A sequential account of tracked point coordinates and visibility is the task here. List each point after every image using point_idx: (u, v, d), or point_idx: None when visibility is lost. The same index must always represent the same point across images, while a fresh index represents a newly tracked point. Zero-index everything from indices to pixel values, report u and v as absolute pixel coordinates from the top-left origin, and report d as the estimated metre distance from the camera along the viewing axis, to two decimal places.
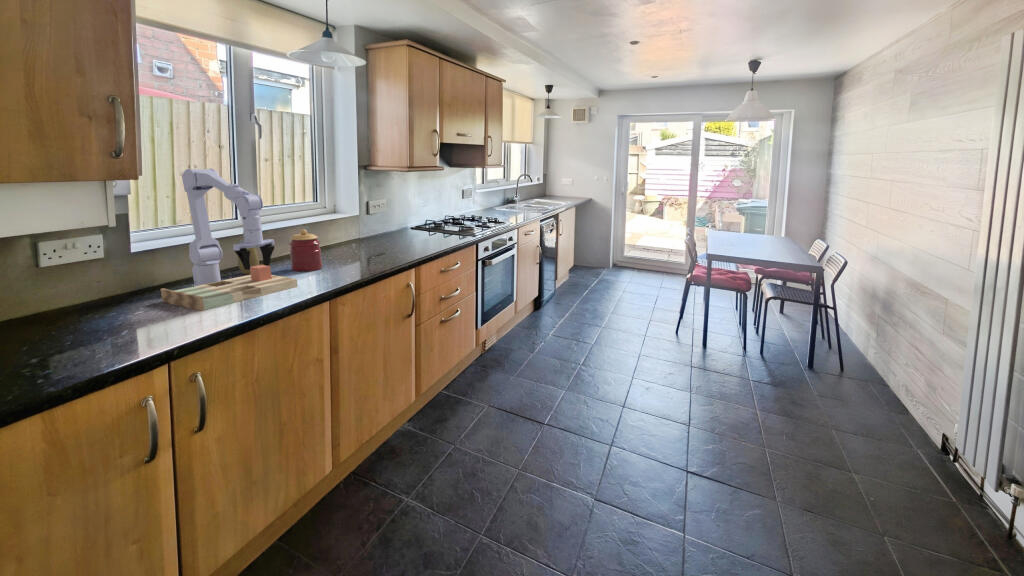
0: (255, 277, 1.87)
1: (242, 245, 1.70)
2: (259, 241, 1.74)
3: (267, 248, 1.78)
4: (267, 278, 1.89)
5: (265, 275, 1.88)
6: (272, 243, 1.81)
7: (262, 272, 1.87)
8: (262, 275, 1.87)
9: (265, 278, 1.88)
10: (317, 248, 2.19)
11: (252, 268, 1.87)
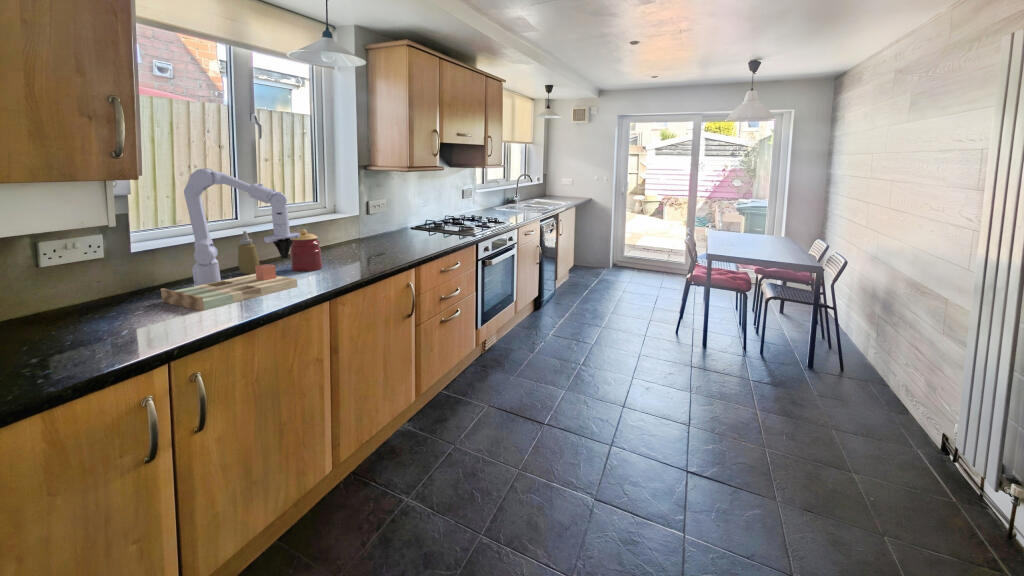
0: (260, 276, 1.89)
1: (272, 238, 1.90)
2: (287, 234, 1.94)
3: None
4: (272, 277, 1.90)
5: (270, 274, 1.90)
6: (297, 236, 2.01)
7: (267, 271, 1.88)
8: (266, 274, 1.88)
9: (269, 277, 1.90)
10: (317, 248, 2.19)
11: (257, 267, 1.89)
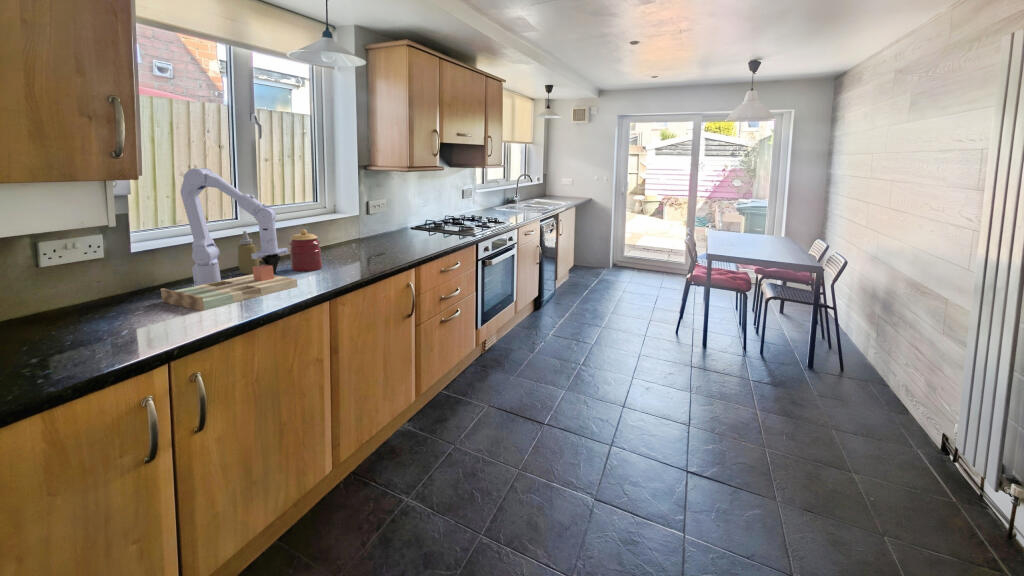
0: (258, 277, 1.88)
1: (259, 254, 1.86)
2: (275, 250, 1.90)
3: None
4: (269, 278, 1.89)
5: (267, 275, 1.89)
6: (286, 252, 1.97)
7: (264, 272, 1.87)
8: (264, 274, 1.87)
9: (267, 278, 1.89)
10: (317, 248, 2.19)
11: (254, 268, 1.88)
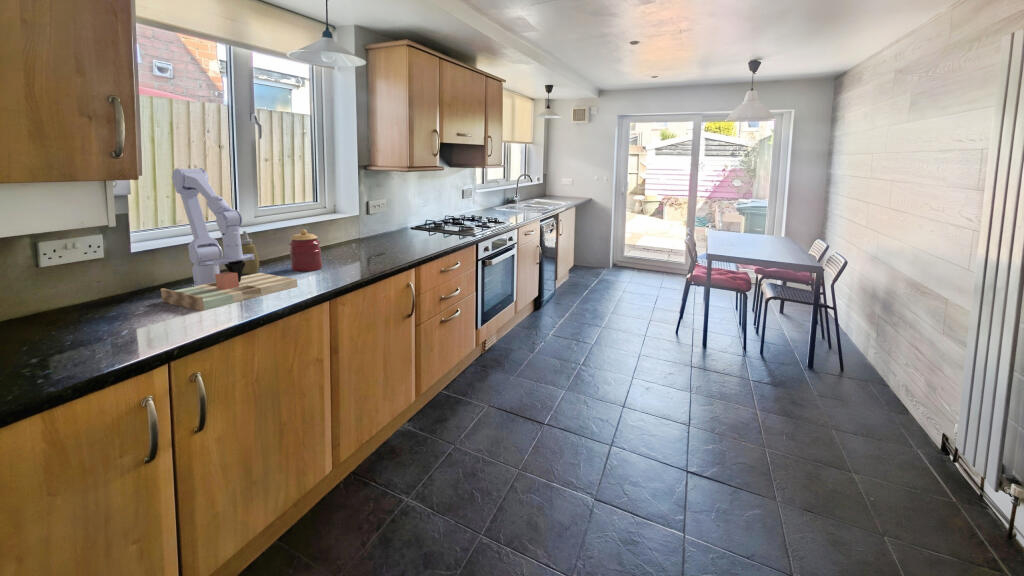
0: (221, 285, 1.75)
1: (222, 261, 1.74)
2: (239, 256, 1.78)
3: None
4: (234, 286, 1.77)
5: (232, 283, 1.76)
6: (252, 258, 1.84)
7: (229, 279, 1.75)
8: (228, 282, 1.75)
9: (232, 286, 1.76)
10: (317, 248, 2.19)
11: (217, 275, 1.75)
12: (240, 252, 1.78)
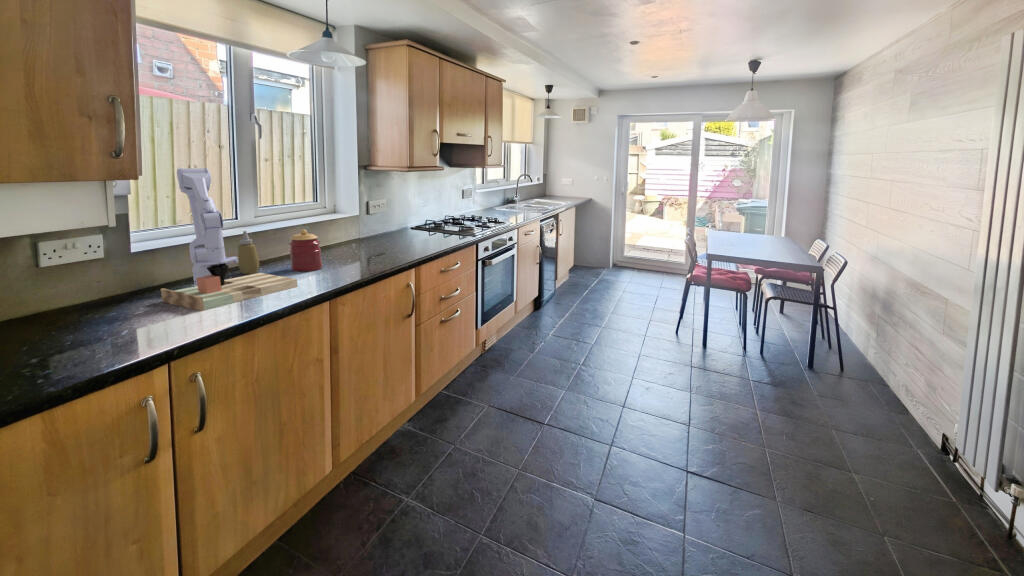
0: (203, 289, 1.70)
1: (203, 264, 1.68)
2: (221, 259, 1.72)
3: None
4: (216, 290, 1.71)
5: (214, 287, 1.71)
6: (236, 261, 1.79)
7: (210, 283, 1.69)
8: (209, 286, 1.69)
9: (214, 290, 1.71)
10: (317, 248, 2.19)
11: (199, 279, 1.69)
12: (223, 255, 1.73)
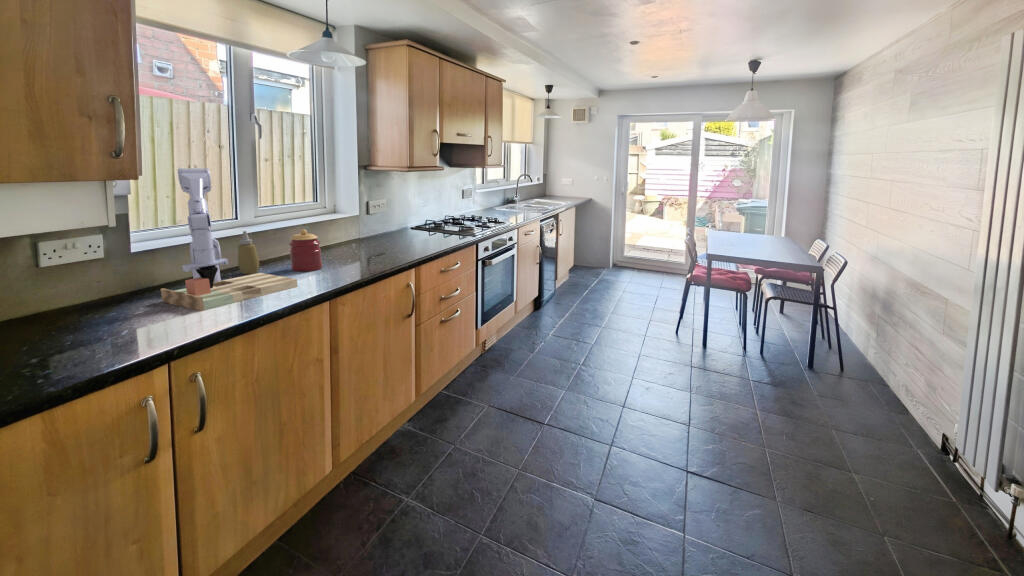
0: (191, 292, 1.66)
1: (192, 266, 1.65)
2: (210, 261, 1.69)
3: None
4: (205, 292, 1.68)
5: (203, 289, 1.67)
6: (225, 262, 1.76)
7: (199, 286, 1.66)
8: (198, 289, 1.66)
9: (203, 293, 1.67)
10: (317, 248, 2.19)
11: (187, 281, 1.66)
12: (212, 257, 1.69)
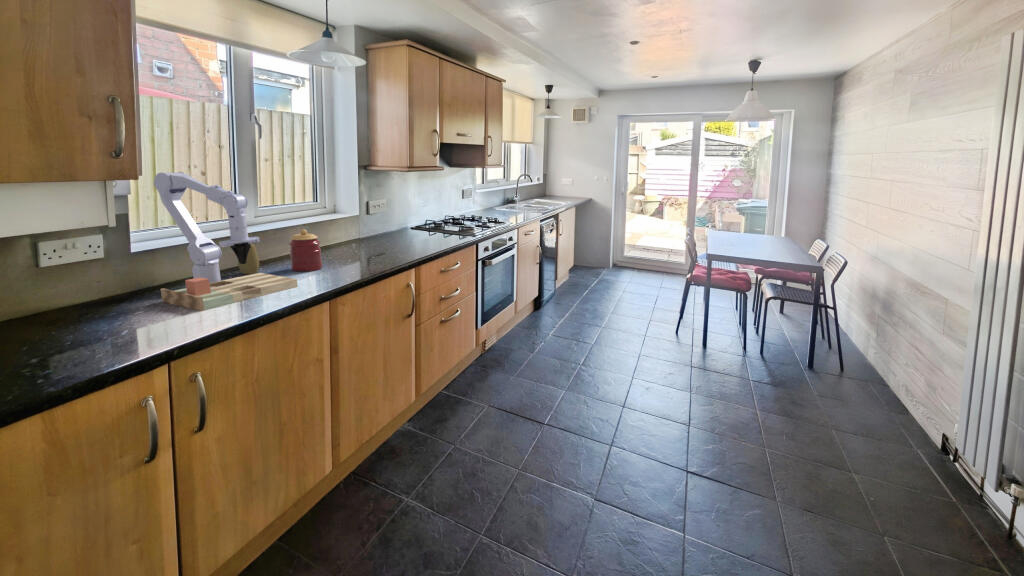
0: (191, 292, 1.66)
1: (228, 242, 1.80)
2: (244, 238, 1.83)
3: None
4: (205, 292, 1.68)
5: (203, 289, 1.67)
6: (257, 240, 1.90)
7: (199, 286, 1.66)
8: (198, 289, 1.66)
9: (203, 293, 1.67)
10: (317, 248, 2.19)
11: (187, 281, 1.66)
12: (245, 234, 1.84)
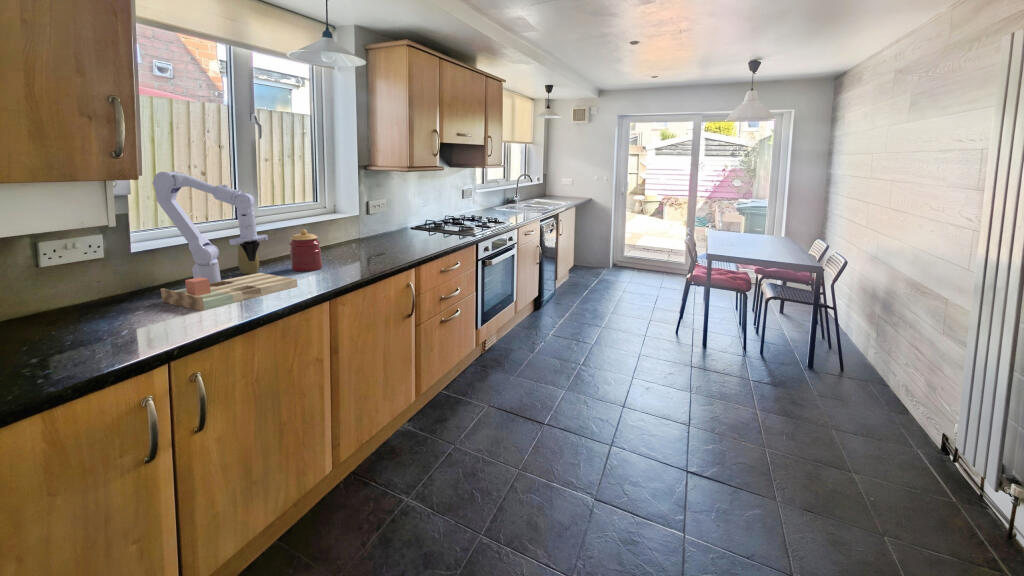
0: (191, 292, 1.66)
1: (238, 240, 1.85)
2: (253, 236, 1.88)
3: None
4: (205, 292, 1.68)
5: (203, 289, 1.67)
6: (266, 238, 1.95)
7: (199, 286, 1.66)
8: (198, 289, 1.66)
9: (203, 293, 1.67)
10: (317, 248, 2.19)
11: (187, 281, 1.66)
12: (255, 232, 1.89)
